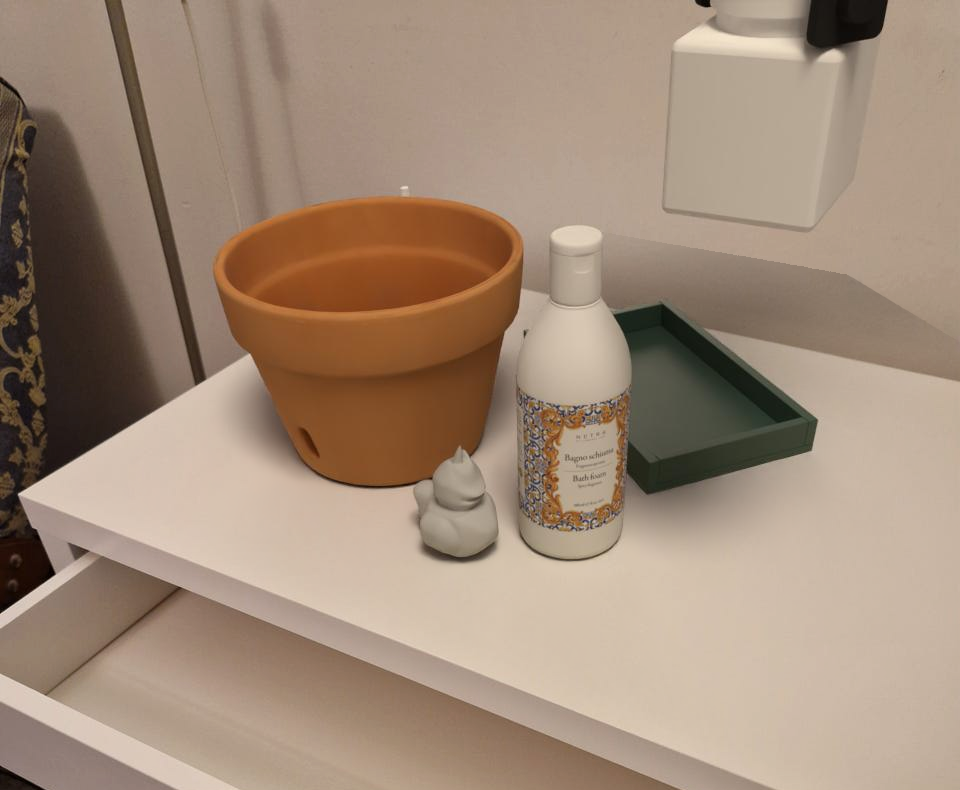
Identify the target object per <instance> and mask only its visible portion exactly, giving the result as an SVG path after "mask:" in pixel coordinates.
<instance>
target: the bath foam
mask: <svg viewBox="0 0 960 790" xmlns="http://www.w3.org/2000/svg"><path fill="white" fill-rule="evenodd" d="M548 241H549V250H548V251H549V253H548V254H549V257H548V258H549V263H548V264H549V265H548V266H549V267H548V268H549V271H548V272H549V278H548V279H549V280H548V282H549V283H548V285H549V297H548V299H547V300H546V302H545V304H544V305H543V307H542V308H541V309H540V311H539V312H538V314H537V316H535V318H534V320H533V321H532V323H531V325H530V326H529V328H528V329H529V330H528V332H527V334H526V336H525V338H524V337H523V340H522V343H521V345H520V349H519V352H518V357H517V361H516V371H515V400H516V401H515V403H516V405H515V406H516V408H515V409H516V411H515V412H516V440H517V441H516V447H517V449H516V450H517V489H518V493H517V494H518V518H519V519H518V521H519V522H518V523H519V531H520V535H521V536H522V538H523V540H524V541H525V542H526V544H528V546H529V547H531V548H532V549H533V550H535V551H537V552H539V553H540V554H542V555H545V556H547V557H551V558H555V559H562V560H580V559H581V560H582V559H587V558H592V557H595V556H597V555H600V554H602V553H604V552H606V551H607V550H609V549H610V548H611V547H613V546H614V544H616V542H617V541H618V540H619V538H620V536H621V534H622V532H623V531H622V530H623V525H624V524H623V523H624V510H625V508H624V507H625V500H626V499H625V498H626V497H625V496H626V481H627V471H626V468H627V452H628V436H629V420H630V404H631V388H632V366H631V358H630V352H629V348H628V345H627V341H626V339H625V336H624V334H623V332H622V330H621V328H620V326H619V324H618V323H617V321H616V319H615V318H614V316H613V315H612V313H611V311H612V310H610V309H609V307H608V305H607V304H606V302H605V300H604V299H603V297H602V286H603V285H602V283H603V282H602V281H603V259H604V258H603V257H604V235H603V233H602V232H601V230H599V228H596V227H593V226H589V225H583V224H582V225H581V224H580V225H579V224H573V225H566V226H562V227H559V228H557V229H555V230H554V231H553V232H551V233H550V236H549V240H548Z"/></svg>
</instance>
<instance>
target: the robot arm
mask: <svg viewBox="0 0 960 790" xmlns="http://www.w3.org/2000/svg"><path fill="white" fill-rule="evenodd" d="M694 2H695V4H696V5H697V6H699V7H702V8H705V9H708V8H712V7H711V5H710V0H694ZM888 4H889V0H811V5H810V12H809V19H808V26H807V33H806V36H807V42H808V43H809V44H810V45H812V46H815V47H818V48H823V47H829V46H834V45H840V44H845V43H851V42H857V41H862V40H868V39H873V38H876V37H877V36H878V35H879V34H880V33H881V31H882V32H883V29H884V25H885V20H886V15H887V8H888ZM881 34H882V33H881Z"/></svg>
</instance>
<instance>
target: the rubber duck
mask: <svg viewBox="0 0 960 790" xmlns="http://www.w3.org/2000/svg"><path fill="white" fill-rule="evenodd" d="M486 487H487V486H486V482H485V479H484V476H483V474H482V471H481V469H480V467H479V466H478V465H477V464H476V462H475V461H474V460H473V459H472V458H471V457H470V455H468V454H467V452H466V451H465V450H464V449H463V450H462V449H461V446H459V447H458V449H457V451H456V453H455V455H454V457H452V458H450V459H447V460H446V461H444V462H443V463H442V464H441V465H440V466H439V467H438V468H437V469H436V470H435V472H434V474H433V477H432V480H431V479H424V480H420V481H417V482H416V484H415V485H414V486H413V488H412V492H413V494H412V495H413V497H414V499H415V501H416V505H417V508H418V515H419V517H420V521H419V532H420V537H421V539H422V541H423V542H424V544H425V545H427V546H429V547H431V548H432V549H435V550H436V551H438V552H440V553H443V554H448V555H450V556H453V557H457V558H466V557H470V556H473V555H476V554H478V553H480V552H482V551H483V550H485V549H486V548H488V547H489V546H490V545H491V544H493V543H494V542H495V541H496V540H497V539H498V537H499V530H500V529H499V520H498V515H497V514H498V513H497V508H496V504H495V501H494V499H493V497H492V496H491V494H490V493H489V492H488V491H486Z"/></svg>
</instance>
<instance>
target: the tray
mask: <svg viewBox="0 0 960 790" xmlns="http://www.w3.org/2000/svg"><path fill="white" fill-rule="evenodd" d="M610 311H611V313H612V315H613V316H614V318H615V319H616V321H617V323H618V324H619V326H620V328H621V330H622V332H623V334H624V336H625V339H626V341H627V345H628V348H629V352H630V358H631V366H632V388H631V404H630V420H629V436H628V452H627V468H626V473H627V474H628V475H629V476H630V477H631V478H632V479H633V480H634V481H635V482H636V484H637V485H638V486H639V487H640V488H641V490H643V492H644V493H646V495H649V494H653V493H657V492H662V491H665V490H669V489H672V488H677V487H680V486H683V485H684V486H685V485H687V484H690V483H694V482H698V481H702V480H703V481H704V480H706V479H710V478H714V477H717V476H721V475H725V474H729V473H732V472H737V471H741V470H743V469H747V468H751V467H754V466H758V465H762V464H766V463H769V462H773V461H776V460H777V461H778V460H781V459H784V458H788V457H792V456H795V455H799V454H803V453H806V452H810V451H812V450H813V447H814V442H815V438H816V433H817V428H818V423H819V419H818V418H817V417H816V416H814V414H812V413H810V411H808V410H807V409H806V408H804V407H803V406H802V405H801V404H799V403H798V402H797V401H796V400H795V399H793V398H792V397H791V396H789V395H788V393H786V392H785V391H783V390H782V389H781V388H779V387H778V386H777V385H776V384H774V383H773V382H772V381H770V380H769V379H768V378H766V377H765V376H764V375H763V374H762V373H761V372H759V370H756V369H755V368H754V367H753V366H752V365H750V364H749V363H748V362H746V361H745V360H744V359H743V358H742V357H741V356H739V355H737V354H736V352H734V351H732V350H731V348H729V347H728V346H726V345H725V344H724V343H722V342H721V341H720V340H719V339H718V338H716V337H715V336H714V335H713V334H711V333H710V332H709V331H707V330H706V329H705V328H704V327H703V326H701V324H699V323H698V322H696V321H695V320H694V319H693V318H691V317H690V316H688V315H687V314H686V313H685V312H683V311H682V310H681V309H680V308H679V307H678V306H676V305H675V304H673V303H672V302H671V301H670V300H668V299H667V298H665V299H659V300H655V301H650V302H646V303H641V304H637V305H632V306H628V307H622V308H617V309H614V310H610ZM528 330H529V328H527V329H523V339H524V338H525V336H526V334H527V332H528Z"/></svg>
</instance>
